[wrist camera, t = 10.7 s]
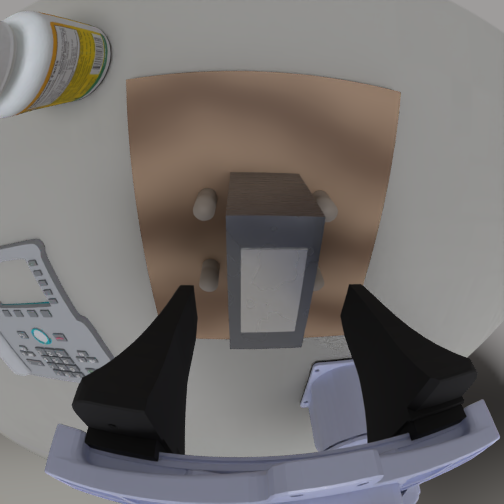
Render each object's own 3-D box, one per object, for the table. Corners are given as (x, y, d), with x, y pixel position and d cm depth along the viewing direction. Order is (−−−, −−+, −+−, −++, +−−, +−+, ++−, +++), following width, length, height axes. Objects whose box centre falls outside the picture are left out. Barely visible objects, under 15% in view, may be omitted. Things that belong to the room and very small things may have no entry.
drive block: (287, 282, 21) (301, 348, 16) (231, 282, 21) (230, 350, 15) (299, 173, 17) (326, 218, 11) (230, 172, 16) (225, 216, 11)
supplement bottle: (129, 56, 13) (28, 42, 5) (74, 117, 15) (-32, 159, 6) (83, 11, 11) (-18, -13, 2) (34, 72, 12) (-71, 92, 4)
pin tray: (343, 326, 25) (352, 351, 23) (165, 328, 24) (159, 354, 22) (393, 91, 15) (418, 94, 12) (132, 79, 14) (112, 79, 11)
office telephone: (9, 377, 29) (-65, 271, 18) (15, 365, 31) (-54, 259, 20) (129, 397, 28) (34, 248, 17) (134, 379, 30) (50, 231, 19)
